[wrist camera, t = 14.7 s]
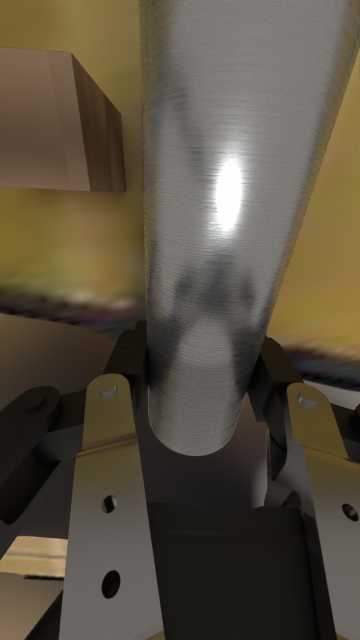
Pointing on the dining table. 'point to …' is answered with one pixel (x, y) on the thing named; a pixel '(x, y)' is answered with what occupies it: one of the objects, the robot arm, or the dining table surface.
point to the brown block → (56, 125)
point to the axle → (228, 187)
